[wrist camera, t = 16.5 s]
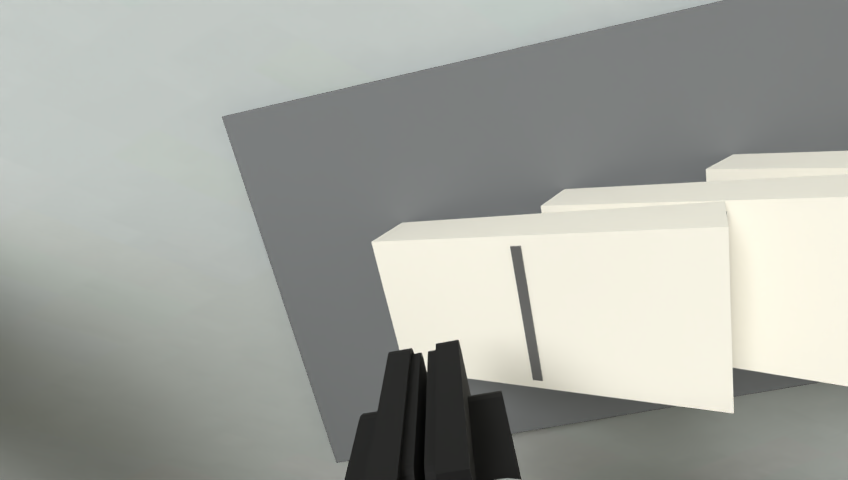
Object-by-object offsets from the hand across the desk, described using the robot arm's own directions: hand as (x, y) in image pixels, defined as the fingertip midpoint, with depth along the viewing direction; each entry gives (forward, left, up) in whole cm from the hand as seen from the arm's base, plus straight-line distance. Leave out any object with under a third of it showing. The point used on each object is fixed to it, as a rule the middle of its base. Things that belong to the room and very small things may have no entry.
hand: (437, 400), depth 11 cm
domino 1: (-1, 0, -6) cm, 7 cm away
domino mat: (+9, 0, -8) cm, 12 cm away
